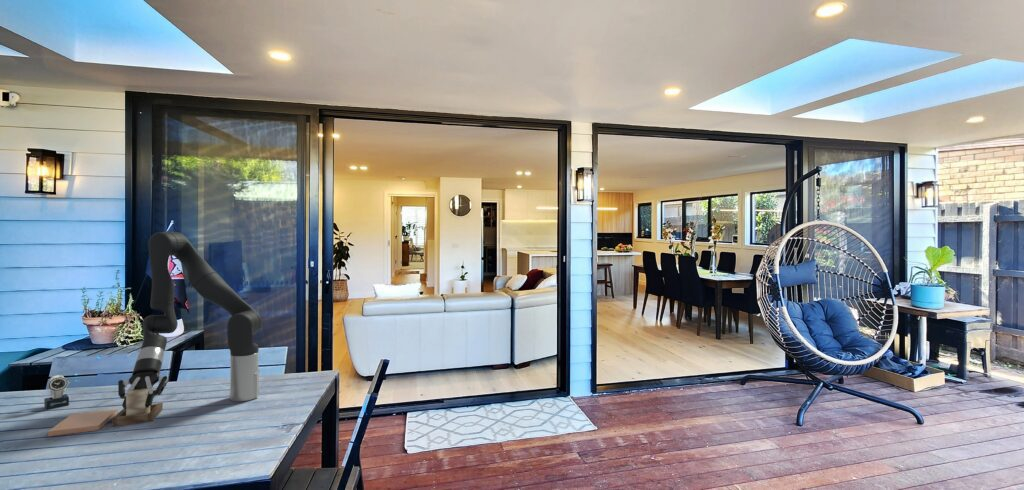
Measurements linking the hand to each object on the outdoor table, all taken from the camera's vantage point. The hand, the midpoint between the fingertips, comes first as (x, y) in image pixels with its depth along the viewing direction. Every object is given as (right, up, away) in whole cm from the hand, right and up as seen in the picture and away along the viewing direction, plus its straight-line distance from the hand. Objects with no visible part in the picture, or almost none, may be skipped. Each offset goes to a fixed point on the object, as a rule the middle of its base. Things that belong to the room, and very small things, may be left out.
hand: (136, 407), depth 146 cm
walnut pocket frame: (-1, -4, +2) cm, 5 cm away
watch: (-37, -3, +10) cm, 39 cm away
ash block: (-1, -4, +2) cm, 5 cm away
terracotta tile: (-14, -4, -4) cm, 15 cm away
